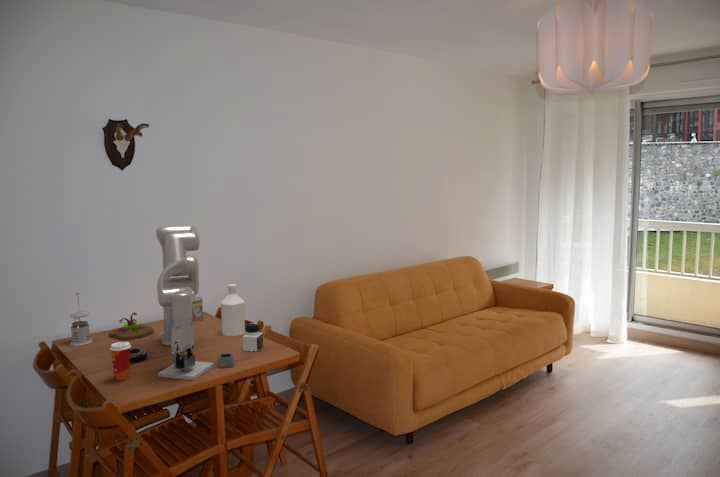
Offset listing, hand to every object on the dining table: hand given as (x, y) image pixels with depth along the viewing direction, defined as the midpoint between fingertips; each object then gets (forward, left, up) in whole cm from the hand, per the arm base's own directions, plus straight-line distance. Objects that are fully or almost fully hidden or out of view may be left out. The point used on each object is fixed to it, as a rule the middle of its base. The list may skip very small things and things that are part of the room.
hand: (184, 364), depth 221 cm
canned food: (-42, +74, -4) cm, 85 cm away
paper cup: (-22, -10, -4) cm, 24 cm away
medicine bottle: (+13, +36, -4) cm, 38 cm away
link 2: (+11, +14, -4) cm, 18 cm away
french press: (-73, +25, -4) cm, 77 cm away
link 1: (0, 0, -1) cm, 1 cm away
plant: (-57, +42, -5) cm, 71 cm away
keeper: (-1, +3, -4) cm, 5 cm away
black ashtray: (-32, +10, -4) cm, 34 cm away
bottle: (-8, +57, -4) cm, 58 cm away
